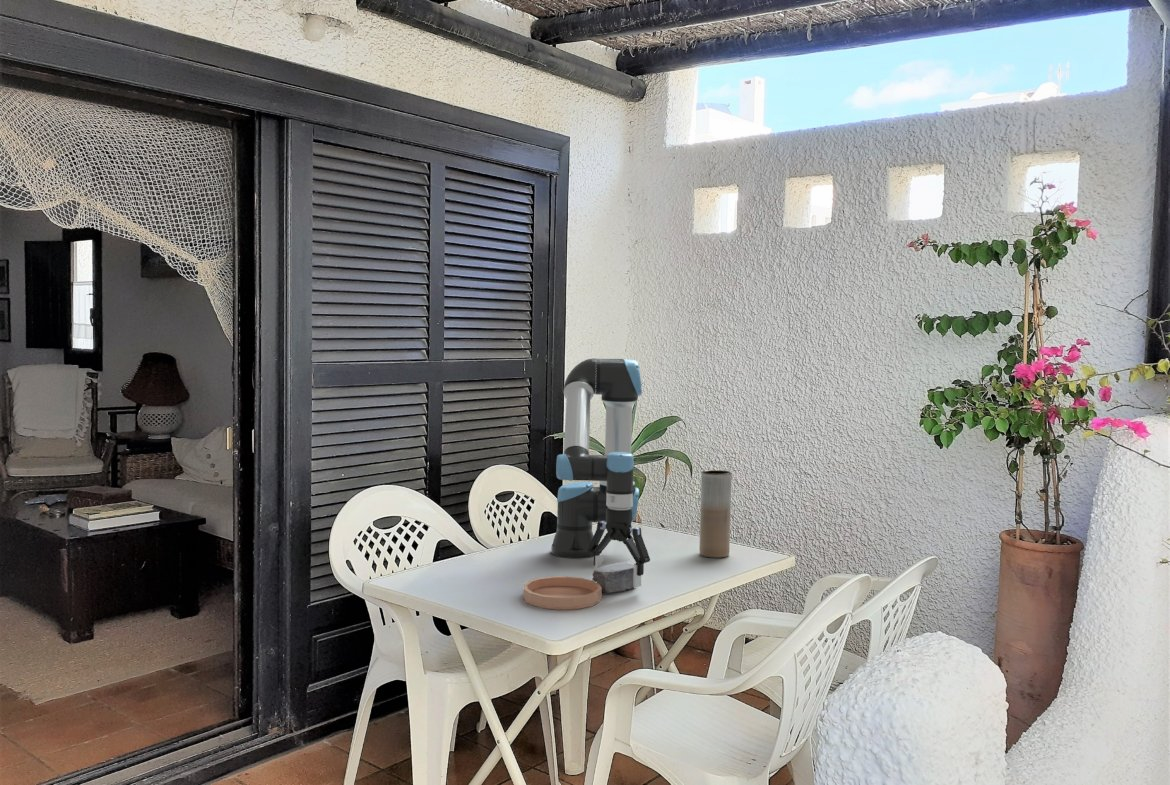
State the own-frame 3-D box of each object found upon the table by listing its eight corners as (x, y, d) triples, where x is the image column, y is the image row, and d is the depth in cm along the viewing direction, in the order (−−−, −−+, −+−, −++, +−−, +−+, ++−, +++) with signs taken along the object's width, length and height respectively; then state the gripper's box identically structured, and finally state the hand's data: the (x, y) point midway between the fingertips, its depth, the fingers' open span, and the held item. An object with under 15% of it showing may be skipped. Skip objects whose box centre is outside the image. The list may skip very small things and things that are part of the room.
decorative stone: (642, 586, 256) (611, 580, 260) (644, 563, 255) (612, 557, 260) (620, 599, 243) (588, 593, 247) (622, 575, 242) (589, 568, 247)
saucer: (507, 598, 240) (507, 587, 240) (558, 583, 256) (558, 572, 256) (566, 615, 227) (566, 602, 226) (616, 597, 243) (616, 586, 243)
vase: (734, 557, 292) (736, 473, 290) (705, 558, 289) (708, 474, 288) (722, 550, 301) (724, 469, 300) (694, 551, 299) (697, 470, 297)
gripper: (576, 503, 254) (575, 576, 255) (647, 515, 239) (646, 593, 240) (593, 500, 260) (591, 571, 261) (663, 511, 244) (661, 587, 246)
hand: (617, 582), depth 251 cm, fingers open, 13 cm apart
